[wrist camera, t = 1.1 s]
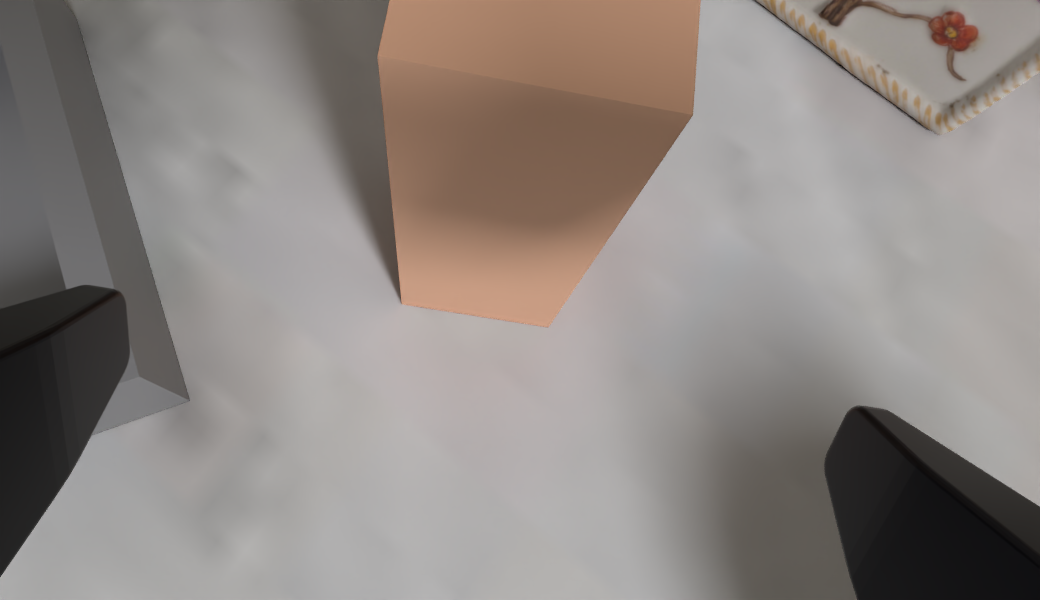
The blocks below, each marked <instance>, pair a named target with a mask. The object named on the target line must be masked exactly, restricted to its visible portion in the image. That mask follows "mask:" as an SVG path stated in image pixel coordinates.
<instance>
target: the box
mask: <svg viewBox="0 0 1040 600" xmlns="http://www.w3.org/2000/svg"><path fill="white" fill-rule="evenodd" d="M80 285H93V286H100V287H106V288H112V289H117V290H119V291H120V292H121V293H122V294H123V295H124V297H125V300H126V305H127V316H128V328H129V340H130V358H129V362H128V365H127V368H126V370H125V372H124V374H123V376H122V378H121V380H120V382H119V384H118V386H117V388H116V390H115V391H114V393H113V395H112V397H111V399H110V401H109V403H108V405H107V407H106V409H105V411H104V412H103V414H102V416H101V418H100V420H99V422H98V424H97V426H96V428H95V430H94V431H93V433H92V435H94V434H97V433H99V432H102V431H105V430H108V429H111V428H114V427H117V426H119V425H122V424H125V423H128V422H131V421H134V420H136V419H139V418H142V417H145V416H148V415H151V414H153V413H156V412H159V411H162V410H165V409H168V408H170V407H173V406H176V405H179V404H182V403H185V402H188V401H190V400H189V396H188V393H187V390H186V386H185V383H184V380H183V376H182V373H181V370H180V366H179V363H178V359H177V356H176V353H175V349H174V346H173V343H172V339H171V336H170V332H169V329H168V326H167V322H166V319H165V316H164V312H163V309H162V305H161V302H160V299H159V295H158V292H157V289H156V285H155V282H154V278H153V275H152V272H151V268H150V265H149V262H148V258H147V255H146V252H145V248H144V245H143V241H142V238H141V235H140V231H139V228H138V225H137V221H136V218H135V214H134V211H133V208H132V204H131V201H130V198H129V194H128V191H127V187H126V184H125V181H124V177H123V174H122V171H121V167H120V164H119V160H118V157H117V154H116V150H115V147H114V144H113V140H112V137H111V133H110V130H109V127H108V123H107V120H106V117H105V113H104V110H103V107H102V103H101V100H100V96H99V93H98V90H97V86H96V83H95V80H94V76H93V73H92V69H91V66H90V63H89V59H88V56H87V53H86V49H85V46H84V42H83V39H82V36H81V32H80V29H79V26H78V22H77V19H76V17H75V16H74V15H73V13H72V12H71V10H70V9H69V7H68V6H67V5H66V3H65V2H64V0H0V309H1V308H5V307H8V306H11V305H15V304H18V303H22V302H25V301H29V300H32V299H35V298H39V297H42V296H46V295H49V294H53V293H56V292H59V291H63V290H66V289H70V288H73V287H77V286H80Z"/></svg>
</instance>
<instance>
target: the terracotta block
mask: <svg viewBox="0 0 1040 600" xmlns="http://www.w3.org/2000/svg"><path fill="white" fill-rule="evenodd" d="M699 16H700V0H390V1H389V5H388V10H387V15H386V19H385V24H384V28H383V33H382V37H381V42H380V47H379V51H378V66H379V76H380V86H381V97H382V107H383V117H384V127H385V138H386V148H387V158H388V168H389V179H390V189H391V199H392V209H393V220H394V230H395V240H396V250H397V261H398V271H399V281H400V291H401V302H402V304H404V305H411V306H417V307H423V308H430V309H436V310H442V311H448V312H455V313H461V314H467V315H474V316H480V317H486V318H493V319H499V320H505V321H511V322H518V323H524V324H530V325H537V326H543V327H549V326H550V324H551V323H552V321H553V320H554V318H555V317H556V315H557V314H558V312H559V311H560V309H561V308H562V307H563V305H564V304H565V302H566V301H567V299H568V298H569V296H570V295H571V293H572V292H573V290H574V289H575V287H576V286H577V284H578V283H579V282H580V280H581V279H582V277H583V276H584V274H585V273H586V271H587V270H588V268H589V267H590V265H591V264H592V262H593V261H594V260H595V258H596V257H597V255H598V254H599V252H600V251H601V249H602V248H603V246H604V245H605V243H606V242H607V240H608V239H609V238H610V236H611V235H612V233H613V232H614V230H615V229H616V227H617V226H618V224H619V223H620V221H621V220H622V218H623V217H624V215H625V214H626V213H627V211H628V210H629V208H630V207H631V205H632V204H633V202H634V201H635V199H636V198H637V196H638V195H639V193H640V192H641V191H642V189H643V188H644V186H645V185H646V183H647V182H648V180H649V179H650V177H651V176H652V174H653V173H654V171H655V170H656V168H657V167H658V166H659V164H660V163H661V161H662V160H663V158H664V157H665V155H666V154H667V152H668V151H669V149H670V148H671V146H672V145H673V144H674V142H675V141H676V139H677V138H678V136H679V135H680V133H681V132H682V130H683V129H684V127H685V126H686V124H687V123H688V122H689V120H690V119H691V117H692V116H693V107H694V91H695V76H696V61H697V46H698V31H699Z"/></svg>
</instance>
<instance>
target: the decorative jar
mask: <svg viewBox="0 0 1040 600" xmlns="http://www.w3.org/2000/svg"><path fill="white" fill-rule="evenodd" d="M756 1H757V2H758V3H760V4H761V5H763V6H764V7H765V8H767V9H768V10H769V11H770V12H772V13H773V14H775V15H776V16H777V17H778V18H780V19H781V20H782V21H784V22H785V23H786V24H788V25H789V26H790V27H792V28H793V29H794V30H795V31H797V32H798V33H800V34H801V35H803V36H804V37H805V38H807V39H808V40H809V41H811V42H812V43H813V44H814V45H816V46H817V47H819V48H820V49H821V50H823V51H824V52H825V53H826V54H827V55H829V56H830V57H831V58H833V59H834V60H835V61H836V62H838V63H839V64H841V65H842V66H843V67H844V68H845V69H847V70H848V71H849V72H850V73H852V74H853V75H854V76H856V77H857V78H859V79H860V80H861V81H862V82H864V83H865V84H867V85H869V86H870V87H872V88H873V89H874V90H875V91H877V92H878V93H880V94H881V95H882V96H884V97H885V98H886V99H888V100H889V101H890V102H892V103H893V104H895V105H896V106H897V107H899V108H900V109H902V110H903V111H904V112H906V113H907V114H908V115H910V116H912V117H913V118H914V119H915V120H917V121H918V122H919V123H920V124H921V125H923V126H924V127H926V128H927V129H929V130H931V131H933V132H934V133H936V134H938V135H943V134H945V133H948V132H950V131H952V130H954V129H955V128H957V127H959V126H960V125H962V124H963V123H965V122H967V121H969V120H971V119H972V118H973V117H975V116H976V115H978V114H980V113H981V112H982V111H984V110H985V109H987V108H988V107H990V106H991V105H992V104H993V103H995V102H997V101H998V100H1000V99H1001V98H1003V97H1004V96H1006V95H1008V94H1009V93H1010V92H1012V91H1013V90H1014V89H1015V88H1017V87H1018V86H1020V85H1022V84H1023V83H1025V82H1026V81H1028V80H1029V79H1030V78H1031V77H1032V76H1034V75H1036V74H1037V73H1039V72H1040V0H756Z"/></svg>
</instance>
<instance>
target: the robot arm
mask: <svg viewBox="0 0 1040 600" xmlns="http://www.w3.org/2000/svg"><path fill="white" fill-rule="evenodd" d="M129 358H130V340H129V328H128V316H127V305H126V300H125V297H124V295H123V294H122V293H121V292H120V291H119V290H117V289H112V288H106V287H100V286H93V285H80V286H77V287H73V288H70V289H66V290H63V291H59V292H56V293H53V294H49V295H46V296H42V297H39V298H35V299H32V300H29V301H25V302H22V303H18V304H15V305H11V306H8V307H5V308H1V309H0V577H1V575H2V574H3V573H4V571H5V570H6V568H7V567H8V565H9V564H10V562H11V561H12V559H13V558H14V557H15V555H16V554H17V552H18V551H19V549H20V548H21V546H22V545H23V543H24V542H25V540H26V539H27V538H28V536H29V535H30V533H31V532H32V530H33V529H34V527H35V526H36V524H37V523H38V522H39V520H40V519H41V517H42V516H43V514H44V513H45V511H46V510H47V508H48V507H49V506H50V504H51V503H52V501H53V500H54V498H55V497H56V495H57V494H58V492H59V491H60V489H61V488H62V486H63V485H64V483H65V482H66V480H67V479H68V477H69V475H70V474H71V472H72V470H73V469H74V467H75V465H76V463H77V462H78V460H79V458H80V456H81V454H82V452H83V451H84V449H85V447H86V445H87V443H88V441H89V439H90V437H91V435H92V433H93V431H94V430H95V428H96V426H97V424H98V422H99V420H100V418H101V416H102V414H103V412H104V411H105V409H106V407H107V405H108V403H109V401H110V399H111V397H112V395H113V393H114V391H115V390H116V388H117V386H118V384H119V382H120V380H121V378H122V376H123V374H124V372H125V370H126V368H127V365H128V362H129ZM824 469H825V476H826V481H827V485H828V489H829V493H830V497H831V501H832V506H833V510H834V514H835V518H836V522H837V527H838V531H839V535H840V539H841V543H842V547H843V552H844V556H845V560H846V564H847V567H848V571H849V575H850V578H851V582H852V585H853V588H854V591H855V594H856V597H857V600H1040V506H1038V505H1036V504H1035V503H1033V502H1032V501H1030V500H1028V499H1027V498H1025V497H1024V496H1022V495H1021V494H1019V493H1017V492H1016V491H1014V490H1013V489H1011V488H1010V487H1008V486H1006V485H1005V484H1003V483H1002V482H1000V481H999V480H997V479H995V478H994V477H992V476H991V475H989V474H988V473H986V472H984V471H983V470H981V469H980V468H978V467H976V466H975V465H973V464H972V463H970V462H969V461H967V460H965V459H964V458H962V457H961V456H959V455H958V454H956V453H954V452H953V451H951V450H950V449H948V448H947V447H945V446H943V445H942V444H940V443H939V442H937V441H936V440H934V439H932V438H931V437H929V436H928V435H926V434H924V433H923V432H921V431H920V430H918V429H917V428H915V427H913V426H912V425H910V424H909V423H907V422H906V421H904V420H902V419H901V418H899V417H898V416H896V415H895V414H893V413H891V412H890V411H888V410H884V409H880V408H873V407H867V406H855V407H853V408H851V409H850V410H849V411H848V412H847V414H846V415H845V417H844V419H843V421H842V423H841V425H840V427H839V430H838V432H837V434H836V436H835V438H834V440H833V442H832V444H831V446H830V448H829V450H828V452H827V454H826V458H825V464H824Z"/></svg>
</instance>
